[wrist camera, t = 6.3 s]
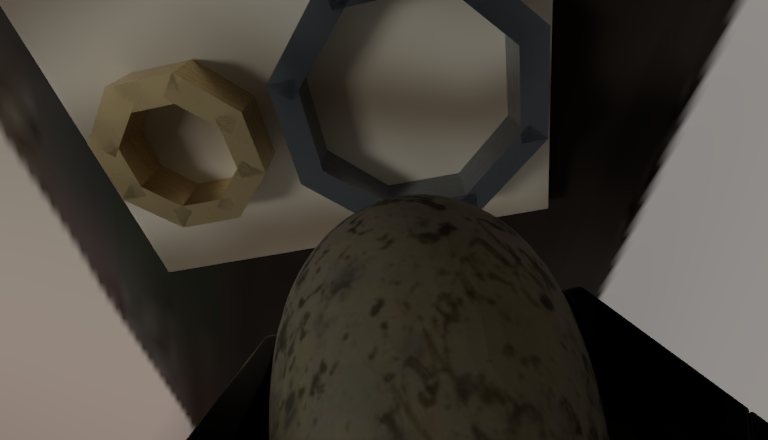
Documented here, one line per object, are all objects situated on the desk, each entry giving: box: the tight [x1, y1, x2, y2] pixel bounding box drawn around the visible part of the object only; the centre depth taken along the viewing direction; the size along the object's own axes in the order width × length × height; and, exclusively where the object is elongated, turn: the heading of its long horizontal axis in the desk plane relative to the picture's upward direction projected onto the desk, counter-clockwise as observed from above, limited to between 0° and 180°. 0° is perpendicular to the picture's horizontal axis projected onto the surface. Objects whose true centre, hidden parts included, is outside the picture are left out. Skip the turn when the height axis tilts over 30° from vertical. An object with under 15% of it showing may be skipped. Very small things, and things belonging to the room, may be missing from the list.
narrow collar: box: [87, 59, 275, 228], centre depth 17 cm, size 6×6×2 cm
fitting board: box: [0, 0, 553, 272], centre depth 18 cm, size 13×19×1 cm
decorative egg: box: [269, 194, 609, 440], centre depth 8 cm, size 6×6×10 cm
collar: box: [266, 0, 551, 213], centre depth 16 cm, size 10×10×2 cm
